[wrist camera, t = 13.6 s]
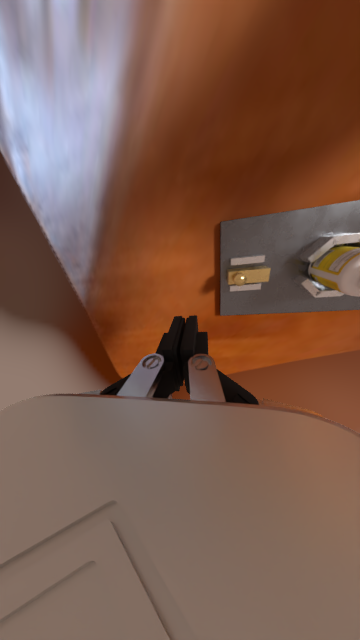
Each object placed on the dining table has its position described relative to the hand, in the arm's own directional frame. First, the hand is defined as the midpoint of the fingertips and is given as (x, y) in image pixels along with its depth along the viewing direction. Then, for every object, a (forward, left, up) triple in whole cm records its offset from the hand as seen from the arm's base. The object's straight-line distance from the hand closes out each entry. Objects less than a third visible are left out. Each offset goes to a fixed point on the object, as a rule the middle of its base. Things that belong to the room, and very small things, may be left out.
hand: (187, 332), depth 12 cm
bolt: (0, +8, -18) cm, 19 cm away
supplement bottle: (0, +20, -18) cm, 27 cm away
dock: (0, +16, -19) cm, 25 cm away
